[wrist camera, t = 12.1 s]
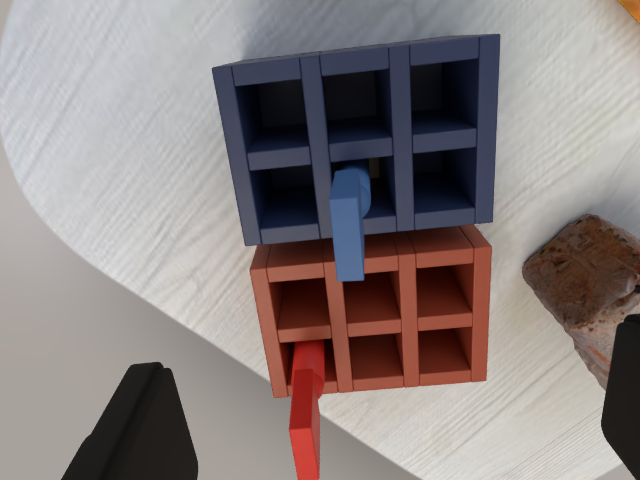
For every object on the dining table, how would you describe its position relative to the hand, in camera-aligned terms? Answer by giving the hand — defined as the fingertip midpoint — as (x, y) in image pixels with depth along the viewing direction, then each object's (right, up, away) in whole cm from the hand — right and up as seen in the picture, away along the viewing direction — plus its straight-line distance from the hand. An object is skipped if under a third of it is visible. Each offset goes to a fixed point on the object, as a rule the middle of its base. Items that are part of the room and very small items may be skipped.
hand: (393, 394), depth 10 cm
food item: (+19, -1, +24) cm, 31 cm away
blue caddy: (0, +11, +19) cm, 22 cm away
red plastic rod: (-2, -1, +23) cm, 23 cm away
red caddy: (+2, +1, +23) cm, 23 cm away
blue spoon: (+1, +8, +19) cm, 21 cm away
